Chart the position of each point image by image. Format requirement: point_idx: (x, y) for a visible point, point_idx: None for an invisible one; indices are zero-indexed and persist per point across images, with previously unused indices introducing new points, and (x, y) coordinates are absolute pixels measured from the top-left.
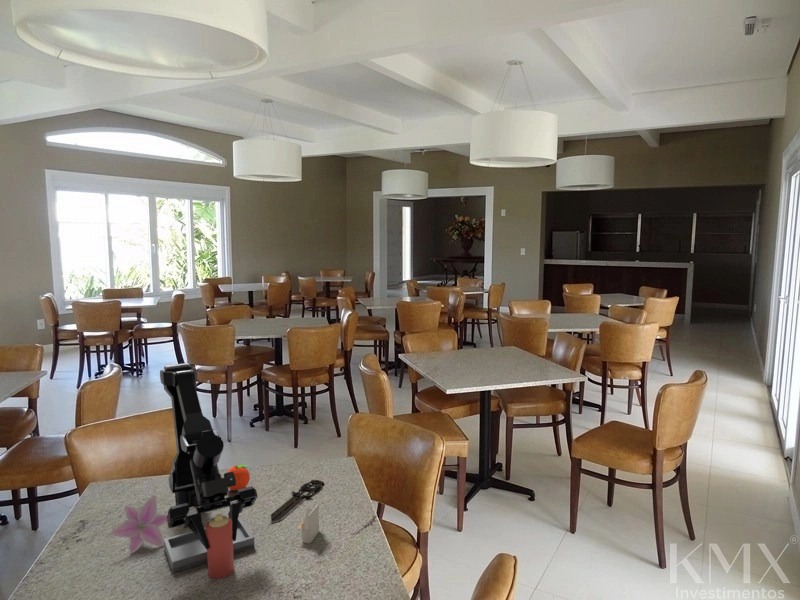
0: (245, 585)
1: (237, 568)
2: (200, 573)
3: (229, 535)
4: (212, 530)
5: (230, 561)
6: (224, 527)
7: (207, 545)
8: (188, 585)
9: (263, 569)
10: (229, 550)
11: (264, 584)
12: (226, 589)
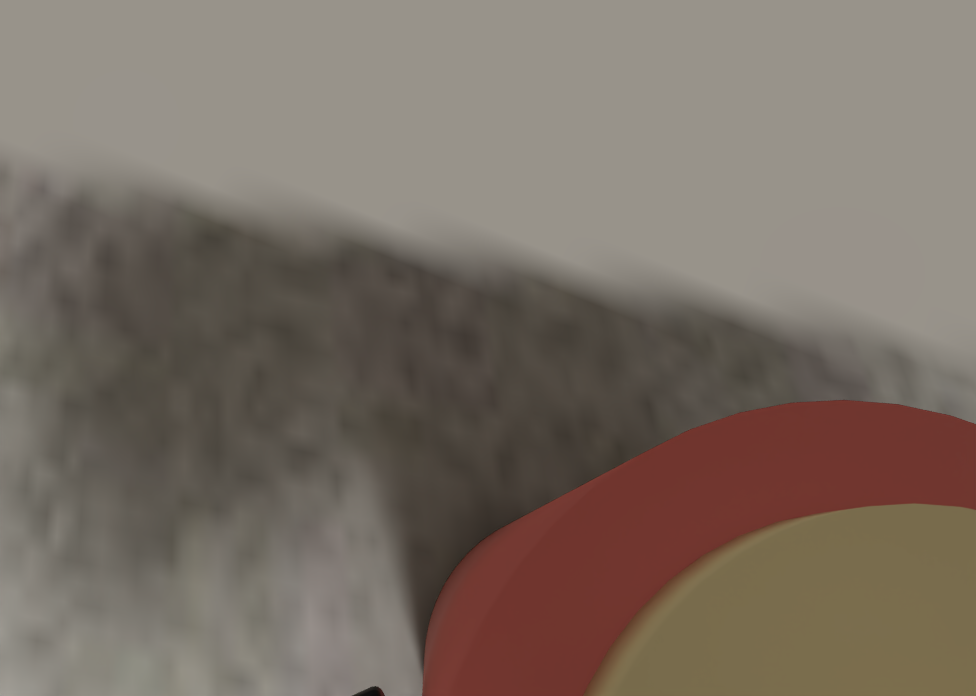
0: (280, 337)
1: (385, 677)
2: None
3: (469, 595)
4: (972, 427)
5: (453, 579)
6: (627, 501)
7: None
8: None
9: (78, 594)
10: (465, 574)
11: (85, 313)
12: (464, 312)
